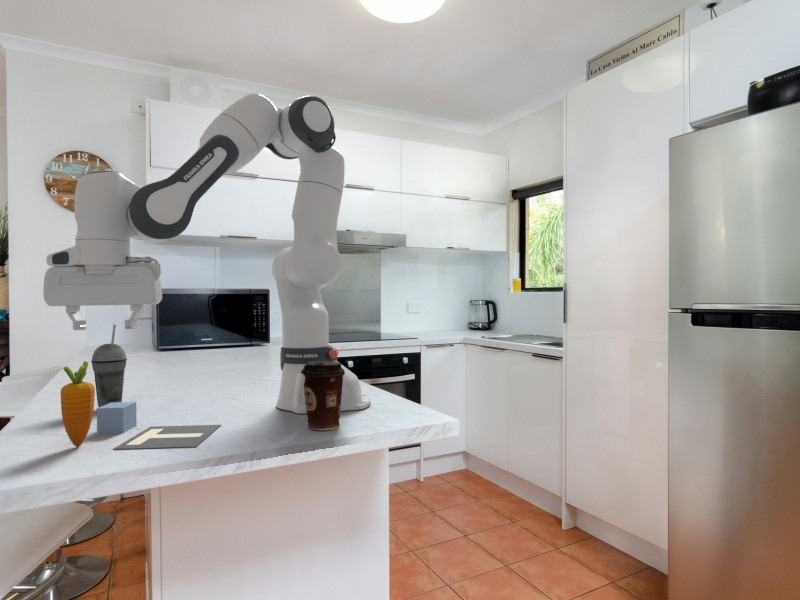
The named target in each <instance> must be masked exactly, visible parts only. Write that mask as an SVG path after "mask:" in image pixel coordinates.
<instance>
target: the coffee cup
mask: <svg viewBox="0 0 800 600" xmlns="http://www.w3.org/2000/svg"><path fill="white" fill-rule="evenodd" d="M341 364H342V363H341V362H339V361H338V362H330V361H310V362H307V363H306V365H304V368H303V370H302V371H301V373H302V374H303V375H304V376H305V382H304V395H305V404H306V411H307V413H306V416H307V427H308V428H310V429H312V430H313V431H314V430H315V431H320V432H321V431H333V430H337V429H338V428H340V424H341V423H340V419H341V412H342V411H341V399H342V386H343V375H344V374H345V371H344V369H343V368H342V367H341Z"/></svg>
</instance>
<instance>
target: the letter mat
mask: <svg viewBox="0 0 800 600" xmlns="http://www.w3.org/2000/svg"><path fill="white" fill-rule="evenodd" d="M221 426H222V424H204V425H203V424H198V425H196V424H194V425H193V424H192V425H163V426H161V425H160V426H156V425H155V426H149V427H147V428H146V429H144V430H142V431H140V432H139V433H138V434H136V435H134V436H133V437H130V438H129V439H127V440H126V441H123V442H122V443H120V444H119V445H117V446H115V447H114V448H112V450H116V451H117V450H119V451H120V450H147V449H150V450H151V449H181V448H185V449H186V448H197V447H198V446H199V445H201V444H202V443H203V442H204V441H205V440H206V439H208V438H209V437H210V436H211V435H212V434H213V433H214V432H216V430H218V429H220V427H221Z"/></svg>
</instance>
